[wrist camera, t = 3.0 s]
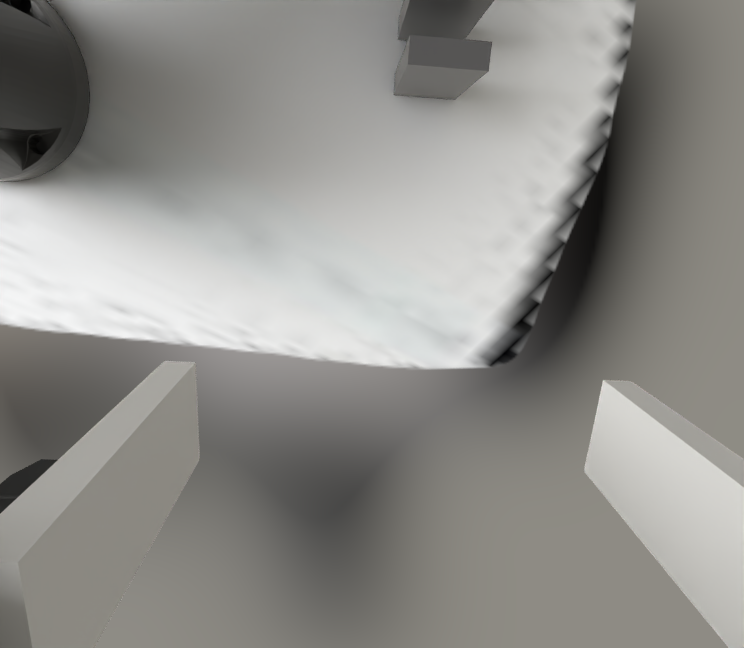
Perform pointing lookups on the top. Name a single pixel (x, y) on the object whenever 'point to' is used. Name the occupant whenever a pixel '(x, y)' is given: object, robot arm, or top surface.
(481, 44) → the domino
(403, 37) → the domino
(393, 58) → the top surface
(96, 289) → the top surface
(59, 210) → the top surface
